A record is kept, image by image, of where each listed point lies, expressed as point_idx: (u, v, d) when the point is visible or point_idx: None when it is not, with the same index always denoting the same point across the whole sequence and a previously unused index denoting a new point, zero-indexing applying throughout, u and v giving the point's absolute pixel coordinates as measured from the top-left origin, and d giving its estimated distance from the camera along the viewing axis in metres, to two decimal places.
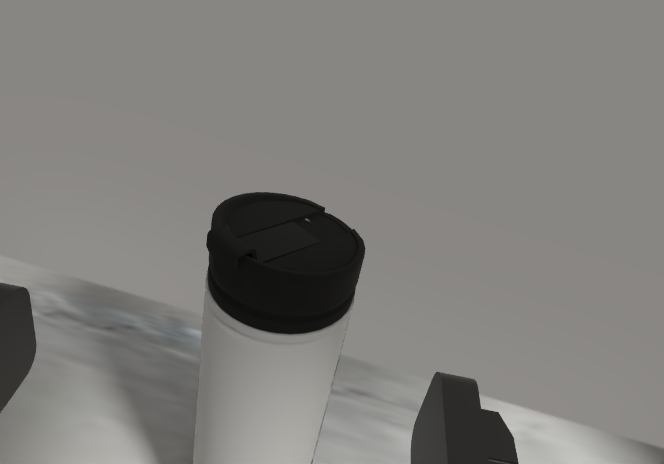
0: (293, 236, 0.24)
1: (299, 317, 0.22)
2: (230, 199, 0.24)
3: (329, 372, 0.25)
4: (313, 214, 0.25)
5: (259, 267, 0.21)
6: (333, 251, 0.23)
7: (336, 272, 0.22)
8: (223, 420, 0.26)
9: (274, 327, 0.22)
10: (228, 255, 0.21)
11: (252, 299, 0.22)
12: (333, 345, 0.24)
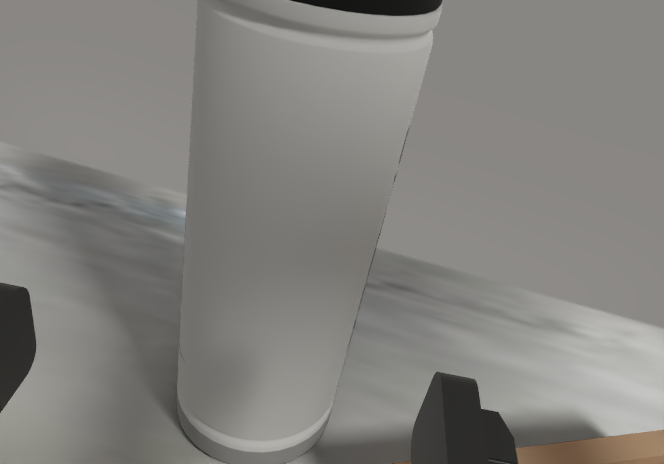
0: None
1: None
2: None
3: (398, 135, 0.16)
4: None
5: None
6: None
7: None
8: (226, 216, 0.16)
9: None
10: None
11: None
12: (411, 70, 0.15)
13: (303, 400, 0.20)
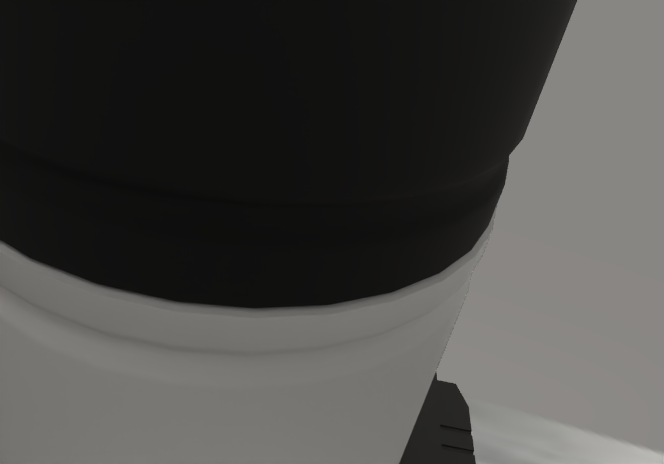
0: None
1: (304, 222, 0.04)
2: None
3: (400, 448, 0.08)
4: None
5: None
6: None
7: None
8: None
9: (172, 274, 0.04)
10: None
11: (39, 108, 0.04)
12: (429, 358, 0.06)
13: None
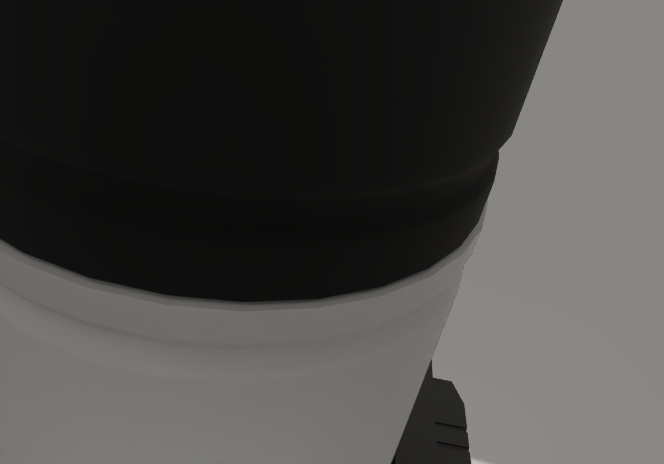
0: None
1: (293, 217, 0.04)
2: None
3: (392, 444, 0.08)
4: None
5: None
6: None
7: None
8: None
9: (163, 268, 0.04)
10: None
11: (30, 103, 0.04)
12: (420, 354, 0.06)
13: None
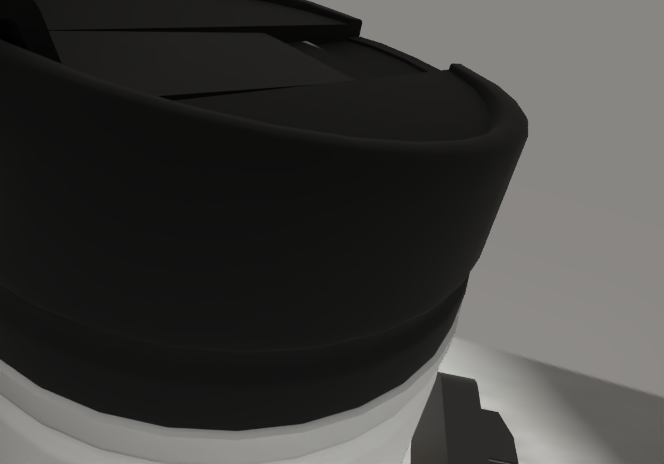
0: (261, 58, 0.06)
1: (278, 362, 0.05)
2: None
3: None
4: (329, 34, 0.08)
5: (42, 87, 0.04)
6: (410, 104, 0.06)
7: (455, 148, 0.04)
8: None
9: (164, 407, 0.05)
10: None
11: (48, 280, 0.04)
12: (399, 445, 0.07)
13: None
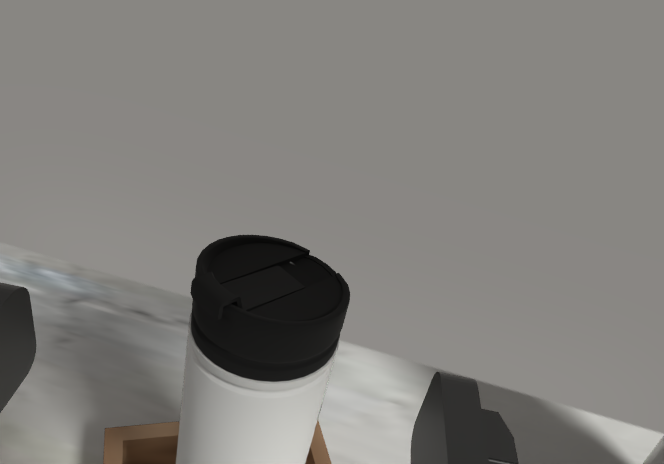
0: (278, 281, 0.23)
1: (284, 365, 0.22)
2: (214, 243, 0.24)
3: (313, 417, 0.25)
4: (298, 257, 0.25)
5: (244, 316, 0.21)
6: (318, 297, 0.23)
7: (321, 320, 0.21)
8: None
9: (258, 375, 0.22)
10: (213, 304, 0.20)
11: (236, 348, 0.21)
12: (317, 390, 0.24)
13: None
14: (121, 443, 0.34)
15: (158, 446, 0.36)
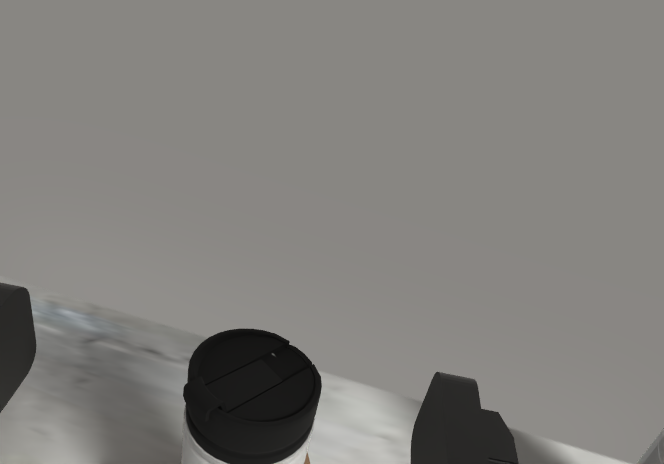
0: (259, 377, 0.27)
1: (263, 454, 0.26)
2: (205, 341, 0.28)
3: None
4: (279, 348, 0.29)
5: (227, 419, 0.24)
6: (293, 391, 0.27)
7: (293, 418, 0.25)
8: None
9: (241, 462, 0.26)
10: (201, 409, 0.24)
11: (222, 442, 0.25)
12: None
13: None
14: None
15: None
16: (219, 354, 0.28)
